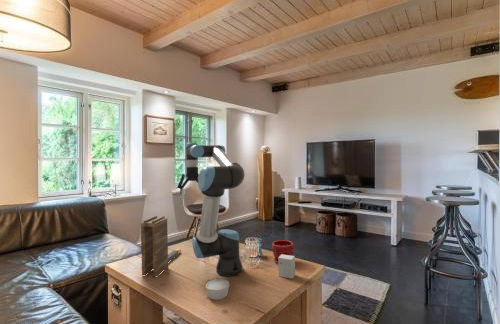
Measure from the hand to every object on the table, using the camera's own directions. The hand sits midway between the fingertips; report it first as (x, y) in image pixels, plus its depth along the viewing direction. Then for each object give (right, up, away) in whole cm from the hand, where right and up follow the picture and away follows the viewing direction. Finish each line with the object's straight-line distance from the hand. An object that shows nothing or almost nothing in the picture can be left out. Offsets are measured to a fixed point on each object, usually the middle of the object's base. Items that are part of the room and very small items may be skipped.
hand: (192, 199), depth 173 cm
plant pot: (+58, -38, -8) cm, 70 cm away
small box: (+58, -39, -27) cm, 75 cm away
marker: (-14, -39, 0) cm, 41 cm away
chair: (+42, -38, +3) cm, 57 cm away
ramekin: (+22, -40, -47) cm, 65 cm away
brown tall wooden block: (-17, -39, -20) cm, 47 cm away
